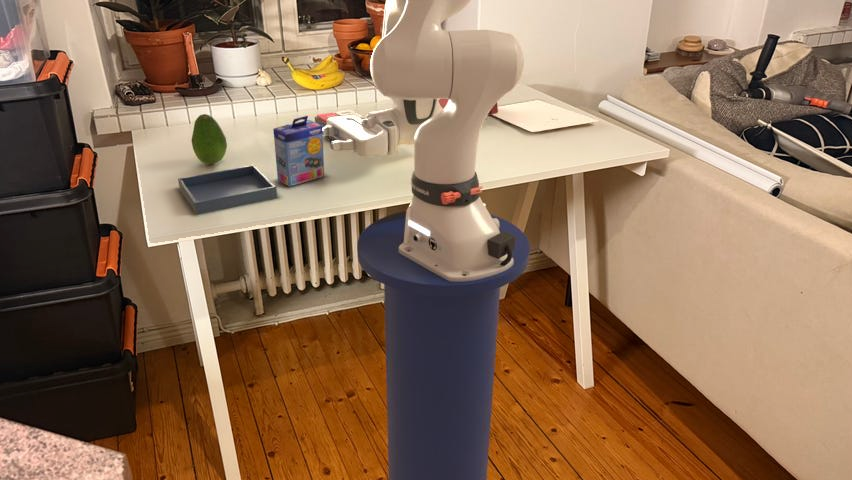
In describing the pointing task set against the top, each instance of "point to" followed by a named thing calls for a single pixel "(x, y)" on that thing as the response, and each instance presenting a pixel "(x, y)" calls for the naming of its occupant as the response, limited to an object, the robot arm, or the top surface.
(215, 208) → the tray
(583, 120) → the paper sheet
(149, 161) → the top surface
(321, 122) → the dark grey package
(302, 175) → the ink cartridge box
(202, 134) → the avocado
